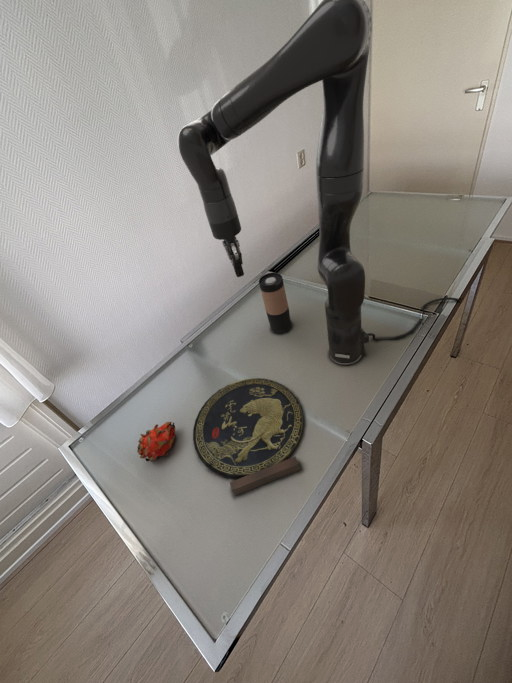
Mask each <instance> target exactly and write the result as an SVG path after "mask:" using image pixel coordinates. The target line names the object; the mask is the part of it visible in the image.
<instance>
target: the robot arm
mask: <svg viewBox="0 0 512 683" xmlns="http://www.w3.org/2000/svg"><path fill="white" fill-rule="evenodd" d="M372 34H373V19H372V14H371V11H370V8H369V5H368V4H367V3H366V1H365V0H322V1H321V2H320V3H319V4H318V5H317V7H316V8H315V9H314V10H313V12H312V13H311V14H310V15H309V16H308V17H307V19H306V20H305V21H304V22H303V23H302V24H301V26H300V27H299V28H298V29H297V30H296V31H295V33H294V34H293V35H292V36H291V37H290V38H289V39H288V41H287V42H286V43H285V44H284V45H283V46H282V47H281V48H280V49H279V50H278V51H276V52H275V53H274V55H272V57H270V58H269V59H268V60H266V62H265V63H264V64H262V65H261V66H260V67H259V68H257V69H256V70H254V71H253V72H252V73H250V74H249V75H248V76H247V77H245V78H244V79H243V80H242V81H241V80H240V82H239V83H237V84H236V85H235V86H233V87H232V88H231V89H230V90H229V91H227V92H226V93H225V94H224V95H223V96H221V97H220V98H219V99H218V100H217V101H216V102H215V103H214V105H212V108H211V109H210V110H208V111H207V112H206V113H204V114H203V115H201V116H200V117H199V118H196V119H195V120H194V121H192V122H190V123H187V124H186V125H184V126H183V127H181V129H180V130H179V132H178V134H177V148H178V152H179V155H180V157H181V159H182V161H183V163H184V165H185V166H186V168H187V170H188V171H189V173H190V175H191V177H192V178H193V180H194V181H195V183H196V185H197V188H198V192H199V194H200V197H201V200H202V203H203V204H202V205H203V208H204V212H205V216H206V218H207V222H208V224H209V227H210V231H211V233H212V237H213V238H214V239H216V240H219V241H221V243H222V246H223V248H224V250H225V253H226V255H227V257H228V259H229V261H230V263H231V266H232V267H233V270H234V273H235V277H236V278H241V277H244V275H245V272H244V269H243V263H244V262H243V255H242V252H241V248H240V246H241V245H240V241H239V240H238V239H237V235H238V234H240V233H241V231H242V225H241V221H240V219H239V214H238V211H237V207H236V203H235V200H234V198H233V195H232V192H231V189H230V184H229V180H228V177H227V175H226V172H225V171H224V169H223V168H221V167H218V166H217V167H216V165H215V163H214V161H213V159H212V155H214V154H215V153H217V152H218V151H219V150H221V149H222V148H223V147H225V146H226V145H227V144H228V143H229V142H230V141H233V140H236V139H237V138H239V137H241V135H244V134H245V133H246V132H248V131H249V130H250V129H252V128H254V126H256V125H257V124H259V123H261V121H263V120H264V119H265V118H267V117H268V116H269V115H270V114H272V112H273V111H275V110H276V109H277V108H278V107H279V106H280V105H282V104H283V103H284V102H286V101H287V100H288V99H290V98H291V97H293V96H295V95H296V94H297V93H299V92H301V91H302V90H304V89H307V88H308V87H310V86H313V85H314V84H315V85H316V84H317V83H319V82H321V94H322V95H321V97H322V112H321V113H322V114H321V121H320V129H319V134H318V135H319V136H318V142H317V150H316V160H315V184H316V199H317V200H316V201H317V216H318V218H317V219H318V227H319V228H318V229H319V240H318V255H317V273H318V275H319V278H320V279H321V280H322V282H323V283H324V285H325V286H326V289H327V298H326V299H325V301H324V311H325V321H326V330H327V339H328V342H327V343H328V350H329V354H328V355H329V358H330V360H331V361H332V362H334V363H335V364H337V365H340V366H350V365H353V364H356V363H358V362H359V361H360V360H361V358H362V357H363V356H365V344H368V343H370V337H372V340H373V341H378V342H379V341H393V340H398V339H401V338H404V337H406V336H408V335H410V334H411V333H413V332H414V331H416V329H417V328H418V327H419V326H420V324H421V323H422V321H423V319H420V318H419V320H418V321H417V322H416V324H415V325H414V326H413V327H412V328H411V329H410V330H409V331H407V332H405V333H402V334H400V335H396V336H393V337H387V338H377V337H376V334H374V333H372V332H371V333H370V332H369V333H367V332H366V331H365V330H364V328H362V306H363V304H364V301H365V294H366V293H365V291H366V272H365V268H364V266H363V264H362V263H361V262H360V261H359V260H358V259H357V257H355V256H354V255H353V253H352V251H351V224H352V221H353V219H354V216H355V214H356V211H357V210H358V207H359V205H360V203H361V199H362V195H363V189H364V176H365V175H364V172H365V122H364V121H365V119H364V98H365V87H366V78H367V70H368V63H369V55H370V49H371V48H370V47H371V43H372V42H371V41H372V36H373V35H372ZM449 300H450V301H456V302H461V300H460V299H459V298H456V297H440V298H436V299H433V300H430V301H428V302H425V303H424V304H423V305H422V306H421V309H420V311H421V310H423V312H424V310H425V308H426V307H427V306H428V305H430V304H433V303H436V302H439V301H449Z"/></svg>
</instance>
